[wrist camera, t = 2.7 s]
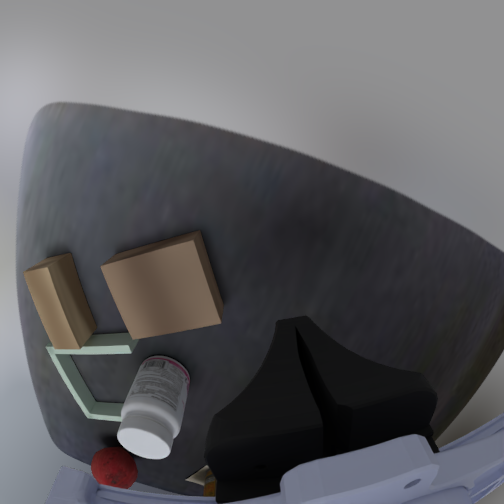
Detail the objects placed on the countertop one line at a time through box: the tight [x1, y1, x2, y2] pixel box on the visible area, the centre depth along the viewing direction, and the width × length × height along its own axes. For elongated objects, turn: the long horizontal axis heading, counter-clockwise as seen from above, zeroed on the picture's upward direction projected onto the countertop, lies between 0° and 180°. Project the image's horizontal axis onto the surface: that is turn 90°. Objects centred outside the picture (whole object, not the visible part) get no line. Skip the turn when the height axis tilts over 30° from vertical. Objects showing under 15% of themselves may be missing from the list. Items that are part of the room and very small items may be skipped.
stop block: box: [23, 253, 97, 349], centre depth 20 cm, size 3×7×4 cm, turn 9°
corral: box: [46, 333, 139, 421], centre depth 23 cm, size 10×10×2 cm
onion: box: [91, 447, 138, 489], centre depth 24 cm, size 6×6×8 cm
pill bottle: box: [117, 356, 190, 459], centre depth 20 cm, size 5×5×8 cm
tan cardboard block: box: [100, 230, 224, 340], centre depth 20 cm, size 7×6×3 cm
